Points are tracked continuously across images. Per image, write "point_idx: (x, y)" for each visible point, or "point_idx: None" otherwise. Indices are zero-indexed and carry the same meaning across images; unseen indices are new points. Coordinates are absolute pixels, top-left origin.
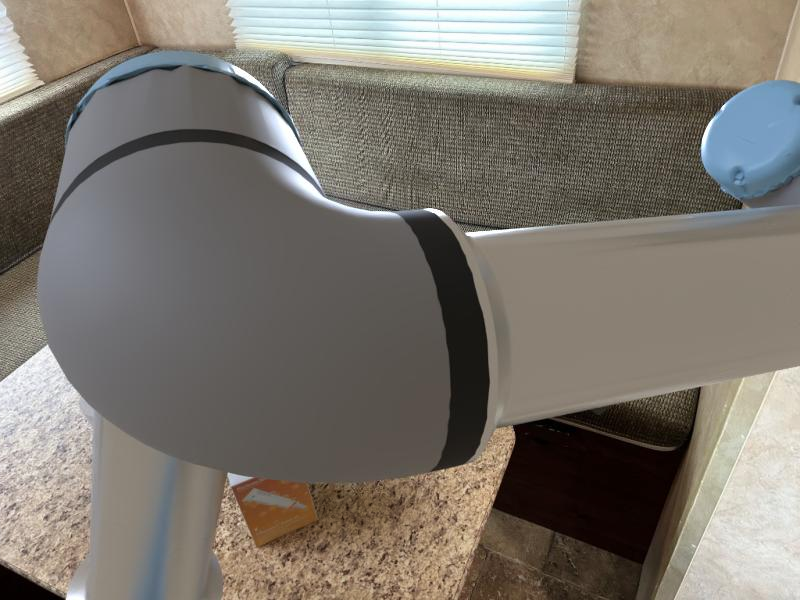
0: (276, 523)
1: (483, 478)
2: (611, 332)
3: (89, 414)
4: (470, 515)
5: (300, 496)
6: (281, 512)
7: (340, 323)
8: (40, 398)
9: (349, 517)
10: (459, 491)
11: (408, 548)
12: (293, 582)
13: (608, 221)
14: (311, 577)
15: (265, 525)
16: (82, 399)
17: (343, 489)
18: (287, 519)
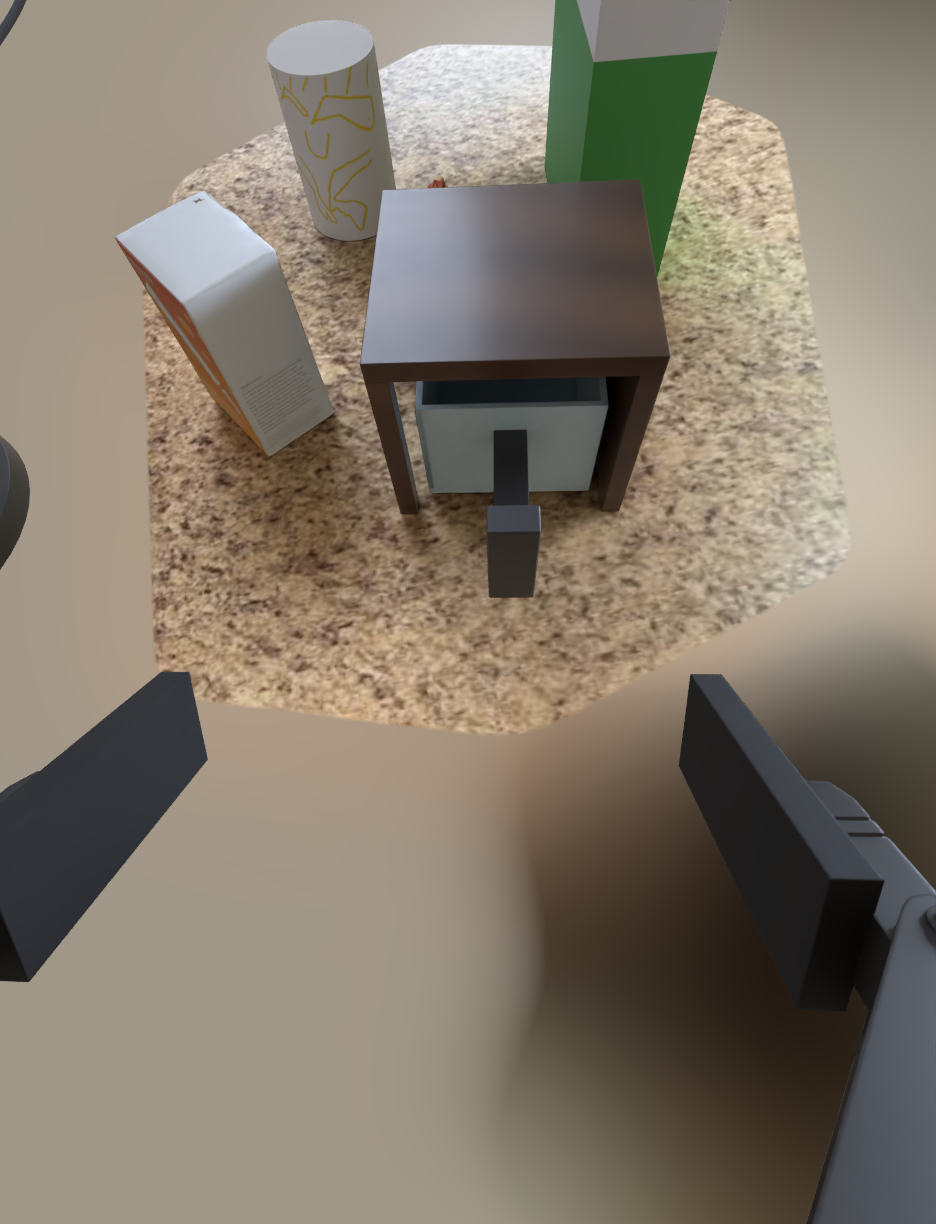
0: (215, 391)
1: (402, 702)
2: None
3: (270, 46)
4: (312, 694)
5: (223, 385)
6: (211, 380)
7: None
8: (414, 81)
9: (281, 498)
10: (362, 662)
11: (233, 604)
12: (164, 464)
13: None
14: (173, 483)
15: (203, 376)
16: (299, 27)
17: (333, 472)
18: (226, 403)
